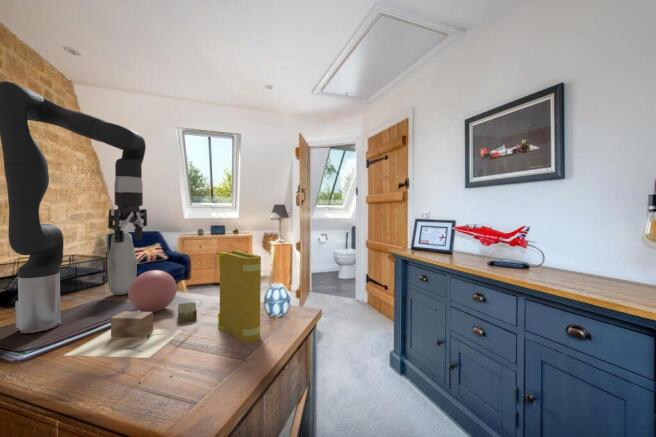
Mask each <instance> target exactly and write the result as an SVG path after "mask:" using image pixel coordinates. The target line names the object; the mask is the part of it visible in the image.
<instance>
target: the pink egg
mask: <svg viewBox="0 0 656 437" xmlns="http://www.w3.org/2000/svg"><path fill="white" fill-rule="evenodd" d="M177 289H178V287H177V282H176V280H175V279H174V277H173V276H172V275H171V274H170V273H169V272H166V271H163V270H158V269H153V270H148V271H144V272H143V273H141V274H139V275H138V276H137V278H136V279H135V280H134V281H133V282H132V284H131V285H130V288H129V293H128V294H127V296H128V300H129V302H130V304H131V305H132V307H134V308H135V309H136V310H137V311H139V312H153V313H156V312H159V311H163V310H164V309H165V308H167V307H168V306H170V305H171V304H172V302H173V301H174V300H175V297H176V295H177V292H178V290H177Z"/></svg>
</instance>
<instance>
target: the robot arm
mask: <svg viewBox="0 0 656 437" xmlns="http://www.w3.org/2000/svg"><path fill="white" fill-rule="evenodd" d="M29 121H32V122H39V123H43V124H49V125H51V126H52V125H53V126H56V127H60V128H63V129H65V130H68V131H70V132H72V133H73V134H76V135H79V136H81V137H82V136H83V137H85V138H87V139H90V140H93V141H96V142H98V143H104V144H106V145H108V146H111V147H113V148H117V149H118V150H122V154H121V158H118V159H116V160H115V164H114V165H115V166H114V167H115V168H114V169H115V171H114V172H115V173H114V174H115V176H114V177H115V178H114V188H113V189H114V205H115V206H116V207H117V208H115V209H113V208H110V209H109V210H108V220H107V221H108V223H107V224H108V225H107V227H108V229H109V230H113V232H114V233H115V242H116V243H122V242H124V232H125V230H124V229H125V228H126V226H127V225H128V224H129V223H131V224H132V225H133V227H134V233H133V234H134V236H133V237H134V240H142V239H143V229H144V227H147V226H148V216H147V215H148V213H147V210H148V209H146V208H140V207H142V206H143V205H144V204H143V203H144V200H143V194H144V189H143V187H144V186H143V180H142V178H143V177H142V174H143V172H142V171H143V170H142V165H143V161H144V157H145V153H146V147H147V146H146V141H145V138H144V137H143V136H142V134H140V133H138V132H136V131H134V130H132V129H130V128H128V127H125V126H122V125H120V124H117V123H112V122H108V121H106V120H104V119H101V118H99V117H97V116H93V115H90V114H87V113H84V112H80V111H77V110H76V111H75V110H72V109H68V108H66V107H63V106H61V105H59V104H57V103H54V102H52V101H51V100H48V99H47V98H45V97H43V96H42V95H40V94H38V93H37V92H35V91H33V90H30V89H28V88H26V87H24V86H22V85H19V84H17V83H14V82H11V81H7V80H5V81H0V144H1V150H2V157H3V158H2V159H3V169H4V177H5V180H6V188H7V189H6V190H7V203H8V242H9V246H10V248H11V249H12V251H14V252H15V253H16V254H18V255H21V256H29V257H28V259H27V261H26V262H25V263H24V264H22V265H20V266H19V267H18V269H17V289H18V292H17V293H18V297H17V298H18V300H15V302H14V303H15V305H14V306H15V307H14V308H15V309H14V310H15V329H16V328H19V329H20V330H33V329H40V328H45V327H49V326H52V325H54V324H56V323H58V322H60V323H61V283H60V282H61V280H60V276H61V275H60V273H61V272H60V268H61V266H62V265H63V261H64V242H65V240H64V234H63V232H62V230H61V228H59V227H58V226H57V225H55V224H51V223H41V221H40V220H41V219H40V205H41V203H42V201H43V198H44V197H45V194H46V192H47V190H48V187H49V185H50V175H49V168H48V167H49V166H48V162H47V159H46V157H45V155H44V153H43V152H42V150H41V149H40V146H39V145H38V144H37V142H36V141H35V139H34V138H33V135H32V134H31V132H30V128H29Z"/></svg>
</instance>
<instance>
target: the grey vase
mask: <svg viewBox="0 0 656 437" xmlns="http://www.w3.org/2000/svg"><path fill="white" fill-rule="evenodd" d="M108 251H109V252H108V256H107V260H106V261H107V264H106V265H107V269H106V270H107V286H108V290H109V291H110V292H111V294H113V295H114V296H124V295H128V293H129V288H130V285H131V284H132V282H133V281H134V280H135V279H136V278H137V277H138V276H137V274H138V272H137V270H138V269H137V268H138V267H137V264H138V263H137V261H138V259H137V252H136V251H135V247H134V243H133V236H132V234H131V233H130V232H128V231H124V242H122V243H116V242H115V232H114V233H113V234H112V236H111V239H110V248H109V250H108Z"/></svg>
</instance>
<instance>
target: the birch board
mask: <svg viewBox="0 0 656 437" xmlns="http://www.w3.org/2000/svg"><path fill="white" fill-rule="evenodd" d="M183 331H184V330H183V329H156V328H155V329H154V328H153V332H152V333H150V334H149V335H147V336H146V337H144V338H143V339H116V338H111V329H109V330H107V331H105V332H103V333H102V334H100V335H97V336H96V337H94V338H93V339H91V340H89V341H87V342H85V343H84V344H83V343H82V345H80V346H78V347H76V348H74V349H73V350H70V351H69V352H66V353H65V354H63V356H65V357H66V356H67V357H68V356H69V357H94V358H95V357H98V358H99V357H101V358H102V357H103V358H132V359H135V358H136V359H139V358H140V359H142V358H143V359H150V358H151V357H152V356H154V355H155V354H156V353H157V352H158V351H160V350H161V349H162V348H163V347H164V346H166V345H167V344H168V343H169V342H171V340H173V339H175V338H176V337H177V336H178V335H179V334H180V333H182V332H183Z"/></svg>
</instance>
